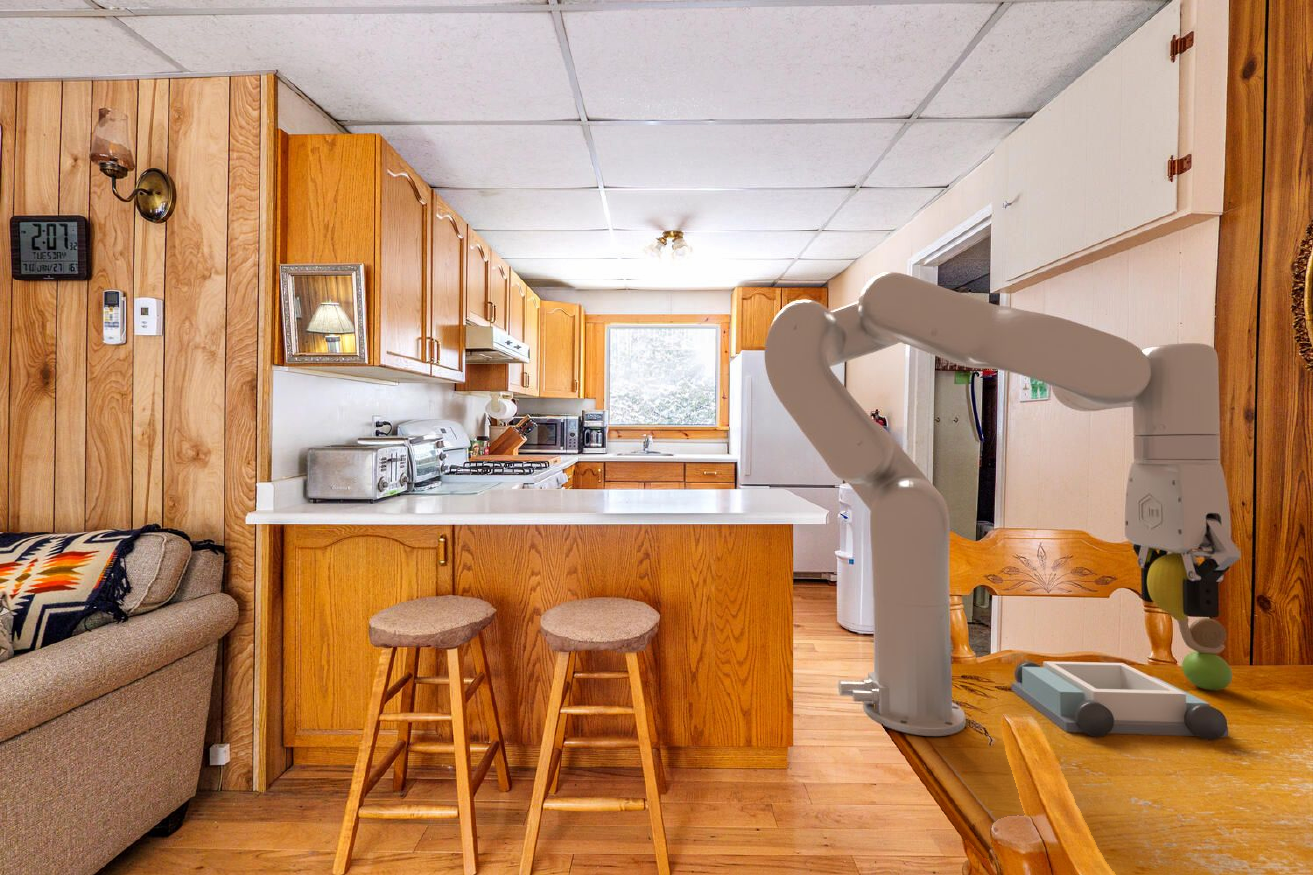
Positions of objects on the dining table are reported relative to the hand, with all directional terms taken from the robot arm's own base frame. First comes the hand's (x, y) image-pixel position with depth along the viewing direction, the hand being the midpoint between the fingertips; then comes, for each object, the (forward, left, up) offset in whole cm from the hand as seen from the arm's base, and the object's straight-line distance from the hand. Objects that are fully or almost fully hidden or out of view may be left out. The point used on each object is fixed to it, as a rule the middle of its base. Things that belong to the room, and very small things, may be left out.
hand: (1178, 607), depth 67 cm
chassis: (0, +12, -17) cm, 21 cm away
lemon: (0, 0, -2) cm, 2 cm away
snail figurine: (+19, +21, -17) cm, 34 cm away
